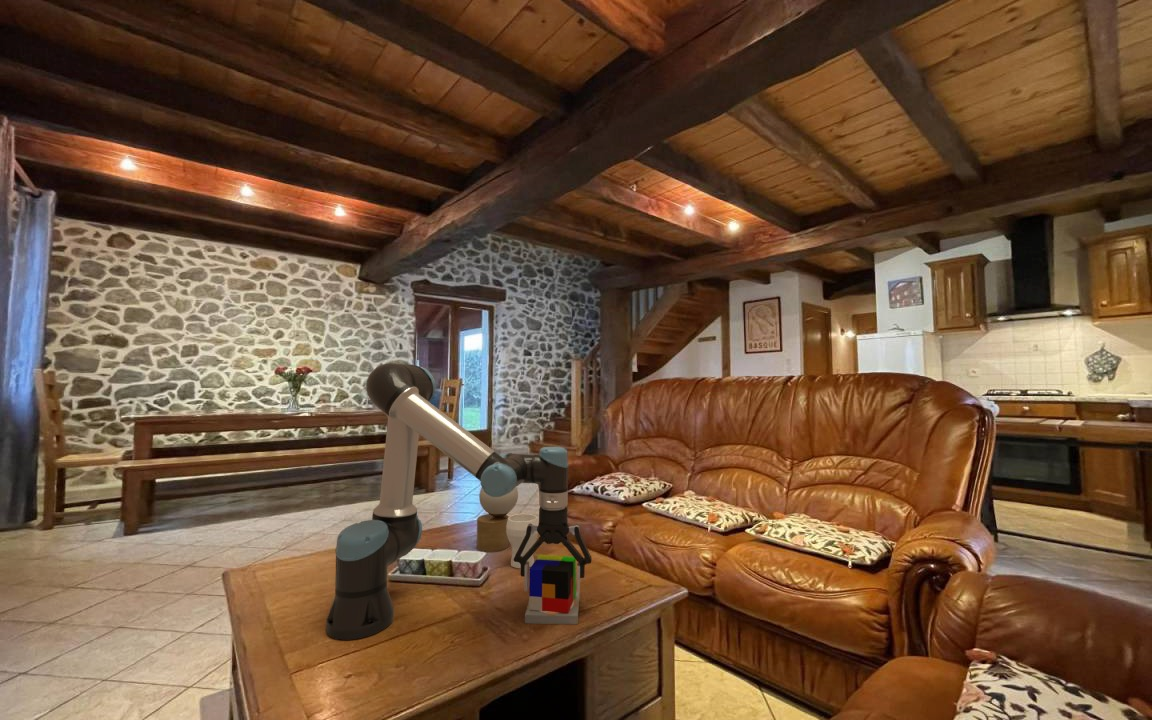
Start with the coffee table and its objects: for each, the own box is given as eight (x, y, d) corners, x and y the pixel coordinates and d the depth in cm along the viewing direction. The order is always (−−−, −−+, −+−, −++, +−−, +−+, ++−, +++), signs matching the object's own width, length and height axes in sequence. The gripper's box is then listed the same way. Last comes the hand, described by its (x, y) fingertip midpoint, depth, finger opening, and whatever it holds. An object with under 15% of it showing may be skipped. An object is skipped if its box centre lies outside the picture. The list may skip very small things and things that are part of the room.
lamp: (504, 536, 178) (505, 471, 179) (525, 545, 167) (525, 476, 168) (469, 545, 168) (470, 476, 169) (488, 556, 157) (489, 482, 159)
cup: (503, 560, 154) (504, 514, 154) (534, 556, 157) (534, 511, 158) (508, 572, 143) (509, 523, 144) (541, 568, 147) (541, 520, 148)
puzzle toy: (529, 609, 115) (529, 569, 115) (539, 592, 125) (539, 554, 125) (568, 613, 113) (568, 571, 114) (575, 595, 123) (575, 557, 123)
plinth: (524, 623, 112) (525, 614, 113) (532, 598, 125) (532, 590, 126) (577, 624, 112) (577, 614, 112) (579, 599, 125) (579, 591, 125)
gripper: (503, 509, 117) (502, 594, 116) (601, 511, 116) (600, 597, 115) (509, 502, 124) (507, 582, 123) (600, 504, 123) (600, 584, 122)
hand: (552, 589), depth 119 cm, fingers open, 13 cm apart
